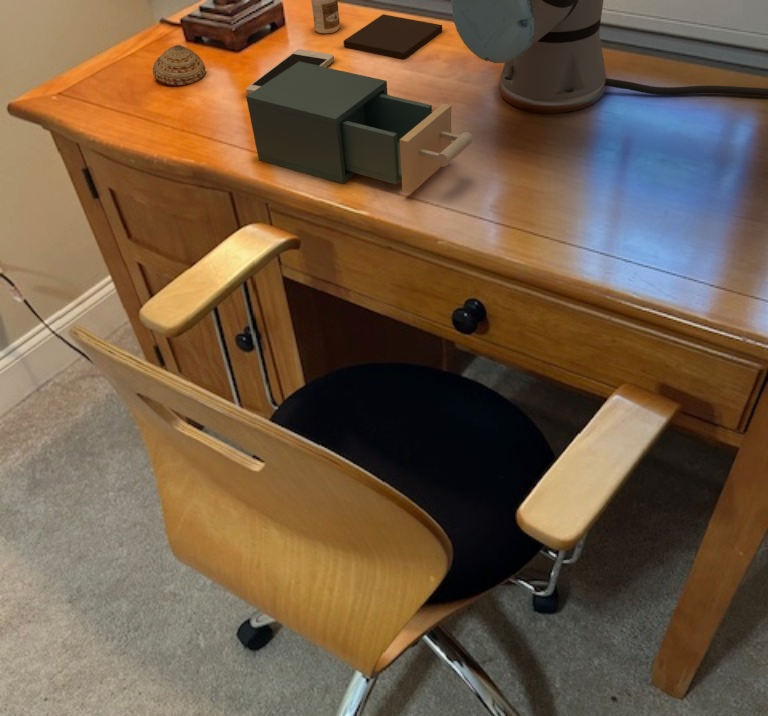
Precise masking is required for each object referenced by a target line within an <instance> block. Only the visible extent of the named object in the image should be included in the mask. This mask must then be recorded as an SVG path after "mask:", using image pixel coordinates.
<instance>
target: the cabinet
mask: <svg viewBox="0 0 768 716" xmlns="http://www.w3.org/2000/svg"><path fill="white" fill-rule="evenodd" d="M378 93H381V94H386V95H389V94H388V81H387V80H385V79H381V78H376V77H371V76H367V75H362V74H358V73H353V72H349V71H344V70H339V69H335V68H331V67H328V66H327V67H322V66H318V65H313V64H309V63H304V62H300V61H299V62H297V63H296V64H294V65H293V66H291V67H290V68H288V69H287V70H285V71H284V72H282V73H281V74H279V75H278V76H276V77H275V78H273V79H272V80H270V81H269V82H267V83H266V84H264V85H263V86H261V87H260V88H258V89H257V90H255V91H254V92H252V93H250V94H249V95H248V94H247V95H246V96H245V98H246V102H247V108H248V113H249V118H250V123H251V128H252V133H253V138H254V143H255V149H256V152H257V158H258V160H259V161H262V162H265V163H269V164H272V165H275V166H278V167H279V166H280V167H283V168H287V169H289V170H294V171H296V172H300V173H304V174H307V175H311V176H314V177H317V178H321V179H325V180H328V181H330V182H335V183H338V184H342V185H344V184H345V183H346V182H347V181H349V180H350V179H351V178H352V177H353V176H355V175H356V174H357V173H354V172H350V171H347V170H345V164H344V156H343V147H342V138H341V129H340V122H341V121H343V120H344V119H345V118H346V117H348V116H349V115H350V114H352V113H353V112H354V111H356V110H357V109H358V108H360V107H361V106H362V105H364V104H365V103H366V102H368V101H369V100H370V99H372V98H373V97H374V96H376V95H377V94H378Z"/></svg>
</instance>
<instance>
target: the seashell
mask: <svg viewBox="0 0 768 716" xmlns="http://www.w3.org/2000/svg"><path fill="white" fill-rule="evenodd" d="M205 74H206V66H205V62H204V61H203V59H202V58H201V56H199V54H197V53H196V52H195V51H193V50H192V49H191V48H188V47H186V46H184V45H181V44H176V45H172V46H171V47H168V48H167V49H166V50H165V51H164V52H163V53H162V54H161V55H159V56H158V57H157V58H156V60H155V61H154V63H153V66H152V75H153V76H154V77H155V79H156V80H158V81H159V82H161V83H163V84H167V85H171V86H186V85H190V84H193V83H196V82H198V81H199V80H201V79H202V78H203V77H204V76H205Z"/></svg>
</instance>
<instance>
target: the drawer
mask: <svg viewBox="0 0 768 716" xmlns="http://www.w3.org/2000/svg"><path fill="white" fill-rule="evenodd" d="M452 112H453V111H452V104H449V103H444V102H443V103H442V104H441V105H440V106H438V107H437V108H435V110H434V111H433V106H432V104H429V103H424V102H419V101H415V100H411V99H407V98H403V97H398V96H393V95H390V94H388V95H386V94H381V93H378V94H377V95H376V96H374V97H373V98H372V99H370V100H369V101H368V102H366V103H365V104H364V105H362V106H361V107H360V108H358V109H357V110H356V111H354V112H353V113H352V114H350V115H349V116H348V117H346V118H345V119H344V120H343V121H341V122H340V129H341V138H342V147H343V156H344V164H345V170H347V171H350V172H354V173H356V174H357V175H361V176H365V177H369V178H371V179H376V180H378V181H383V182H386V183H390V184H393V185H398V184H399V183H400V182H401V189H402V193H405V194H408V195H411V194H412V193H413V192H415V190H416V189H418V188H419V187H420V186H421V185H422V184H424V182H425V181H427V180H428V179H429V178H430V177H431V176H432V175H433V174H435V172H437V171H438V170H439V169H440V168H441V167H447V166H448V165H449V164H450V163H451V162H452V161H453V160H454V159H456V158H457V157H458V156H459V155H461V153H462V152H463V151H464V150H466V149H467V148H469V146H470V145H471V144H472V142H473V136H472V134H471V133H470V132H468V131H463V132H462V133H461V134H456V133H452V131H453V130H452V129H453V128H452V127H453V126H452V124H453V122H452V120H453V119H452V118H453V117H452V114H453V113H452Z"/></svg>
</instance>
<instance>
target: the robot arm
mask: <svg viewBox="0 0 768 716" xmlns="http://www.w3.org/2000/svg"><path fill="white" fill-rule="evenodd" d="M450 4H451V7H452V13H451V14H452V15H451V16H452V20H453V23H454V25H455V29H456V32H457V34H458V36H459V38H460V39H461V42H463V44H464V45H465V46H466V48H467V49H468V50H469V51H470V52H471V53H472V54H473V55H475V56H476V57H477V58H479V59H481V60H482V61H485V62H490V63H493V64H504V65H503V67H502V70H501V73H500V77H499V78H500V79H499V93H500V96H501V97H502V99H503V100H504V101H505V102H507V103H508V104H510V105H511V106H513V107H515V108H517V109H521V110H525V111H528V112H534V113H543V114H556V113H557V114H558V113H568V112H573V111H574V112H575V111H578V110H581V109H584V108H586V107H589V106H591V105H593V104H595V103H596V102H598V101H599V99H601V98H602V97H603V95H604V93H605V89H606V87H610V88H617V89H621V90H622V89H623V90H629V91H634V92H638V93H642V94H643V93H644V94H649V95H659V96H677V95H695V94H696V95H697V94H718V95H719V94H721V95H743V96H755V97H768V88H765V87H749V86H734V85H690V86H689V85H687V86H665V87H664V86H655V85H646V84H642V83H638V82H633V81H627V80H620V79H615V78H607V73H606V72H607V71H606V66H605V60H604V53H603V48H602V41H601V36H600V29H601V21H602V14H603V8H604V0H450Z"/></svg>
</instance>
